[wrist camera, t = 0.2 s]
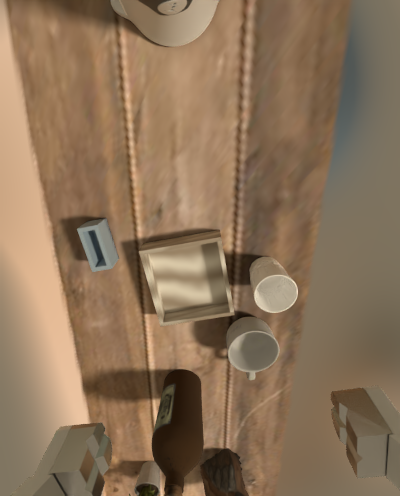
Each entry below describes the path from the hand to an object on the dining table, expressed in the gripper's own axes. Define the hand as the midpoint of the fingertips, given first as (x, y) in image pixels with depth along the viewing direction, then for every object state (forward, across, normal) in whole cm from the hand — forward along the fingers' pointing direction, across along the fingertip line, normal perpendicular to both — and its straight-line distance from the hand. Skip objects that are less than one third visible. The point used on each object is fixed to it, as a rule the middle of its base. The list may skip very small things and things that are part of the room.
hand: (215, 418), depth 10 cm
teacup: (+48, -3, +35) cm, 60 cm away
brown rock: (+48, +8, +80) cm, 94 cm away
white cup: (+48, -9, +19) cm, 53 cm away
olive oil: (+48, +15, +47) cm, 69 cm away
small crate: (+48, +23, +6) cm, 53 cm away
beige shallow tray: (+48, +7, +17) cm, 51 cm away
